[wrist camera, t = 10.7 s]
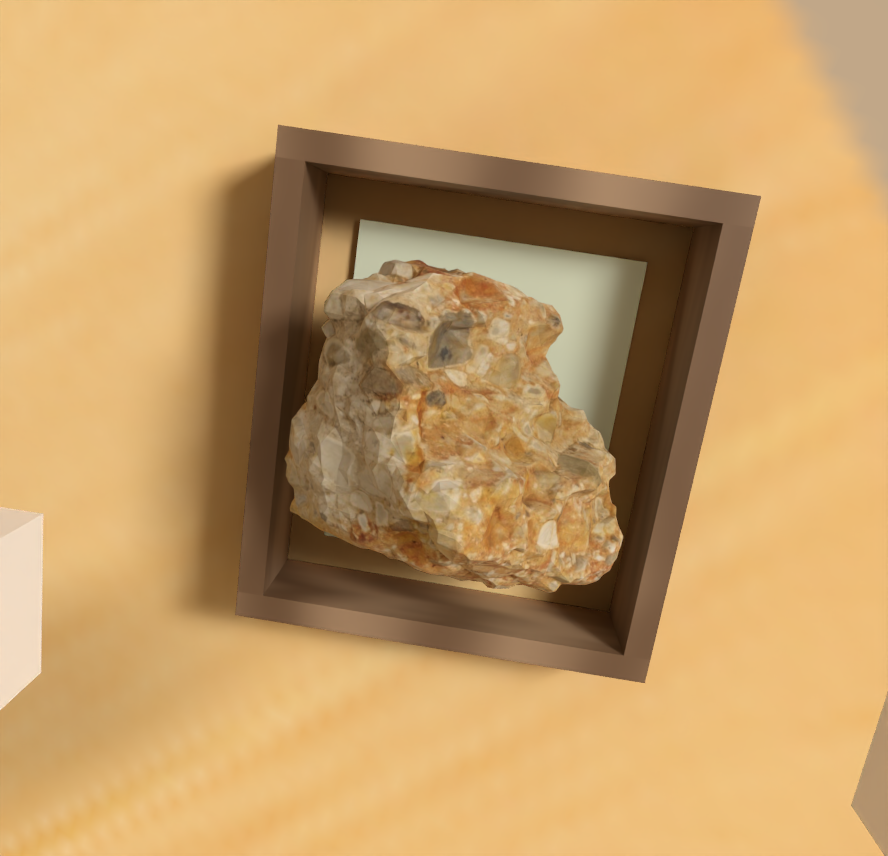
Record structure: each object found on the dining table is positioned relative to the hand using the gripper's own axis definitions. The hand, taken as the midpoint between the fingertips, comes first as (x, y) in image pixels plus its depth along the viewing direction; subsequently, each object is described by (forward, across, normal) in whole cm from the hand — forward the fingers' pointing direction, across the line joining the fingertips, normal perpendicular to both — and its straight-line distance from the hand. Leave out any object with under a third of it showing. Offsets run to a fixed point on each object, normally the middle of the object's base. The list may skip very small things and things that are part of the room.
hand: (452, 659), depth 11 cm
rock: (+19, 0, 0) cm, 19 cm away
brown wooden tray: (+19, 0, 0) cm, 19 cm away
